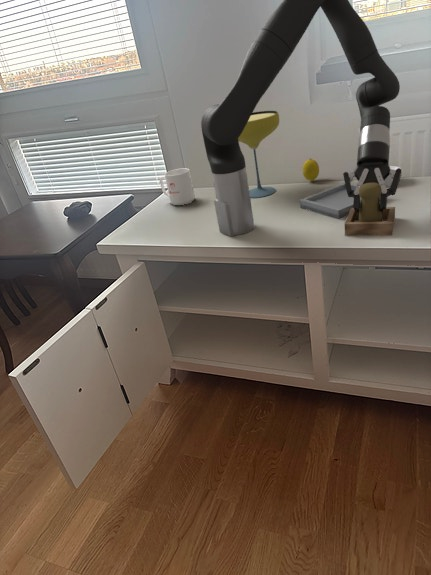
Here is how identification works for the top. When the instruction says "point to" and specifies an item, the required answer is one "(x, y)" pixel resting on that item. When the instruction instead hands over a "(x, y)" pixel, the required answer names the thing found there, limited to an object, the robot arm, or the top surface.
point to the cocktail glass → (253, 135)
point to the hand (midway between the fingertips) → (369, 210)
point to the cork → (370, 203)
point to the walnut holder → (370, 224)
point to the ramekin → (389, 180)
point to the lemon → (310, 169)
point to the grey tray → (330, 202)
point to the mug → (178, 186)
